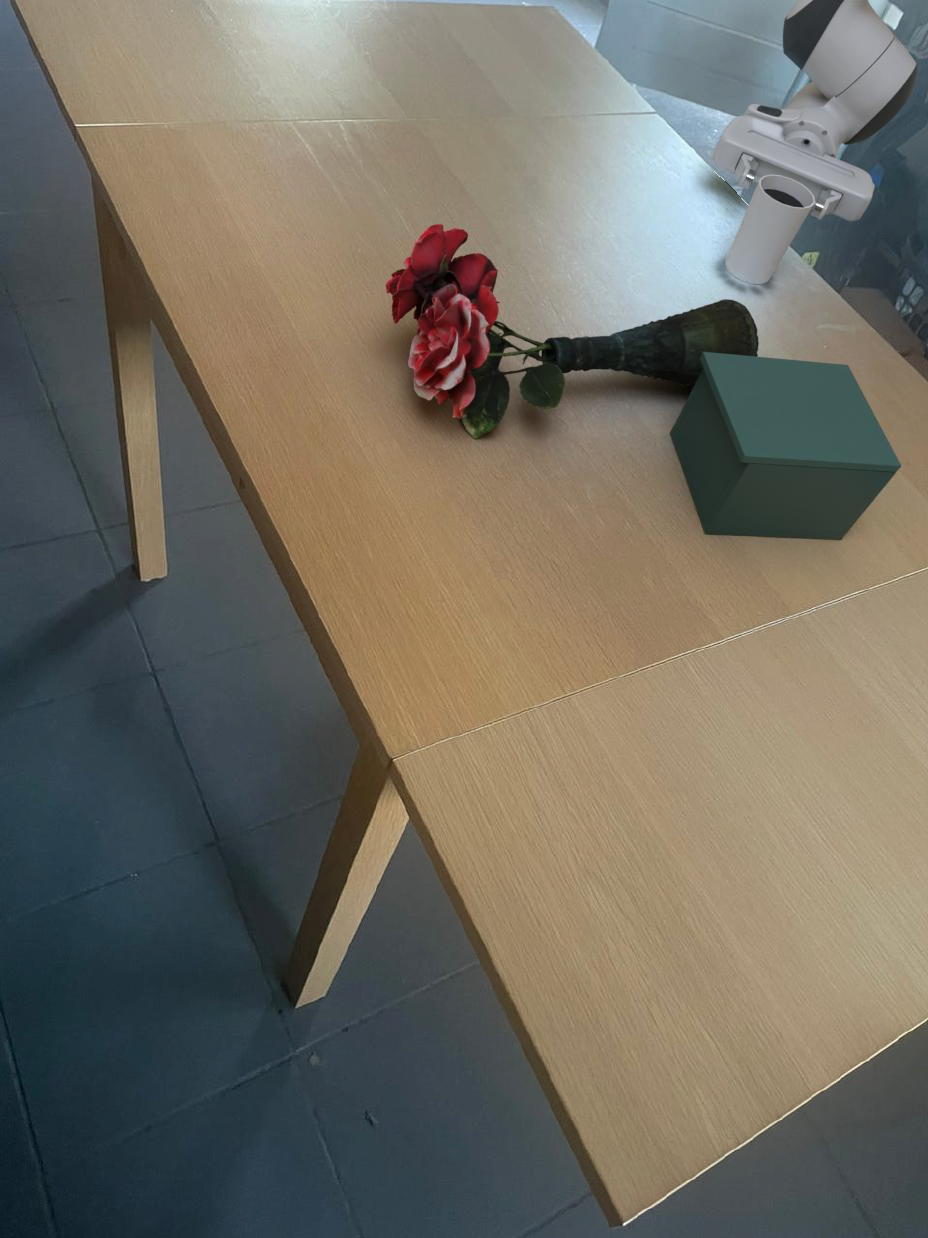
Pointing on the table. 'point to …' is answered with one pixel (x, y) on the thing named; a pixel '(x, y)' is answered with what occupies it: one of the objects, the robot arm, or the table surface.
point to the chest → (763, 482)
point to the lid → (797, 413)
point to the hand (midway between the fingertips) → (781, 197)
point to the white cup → (768, 228)
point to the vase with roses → (463, 347)
